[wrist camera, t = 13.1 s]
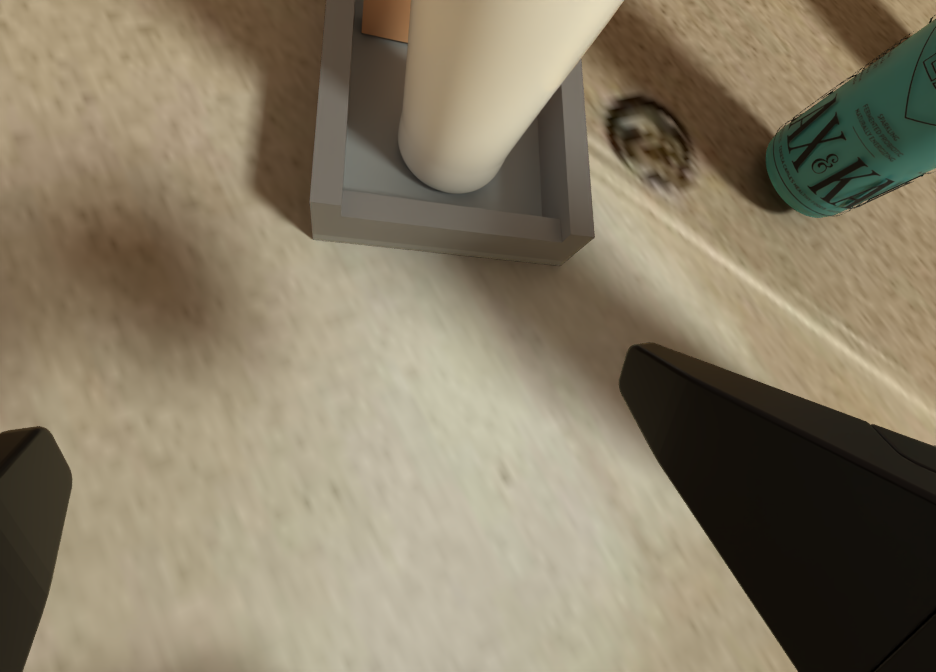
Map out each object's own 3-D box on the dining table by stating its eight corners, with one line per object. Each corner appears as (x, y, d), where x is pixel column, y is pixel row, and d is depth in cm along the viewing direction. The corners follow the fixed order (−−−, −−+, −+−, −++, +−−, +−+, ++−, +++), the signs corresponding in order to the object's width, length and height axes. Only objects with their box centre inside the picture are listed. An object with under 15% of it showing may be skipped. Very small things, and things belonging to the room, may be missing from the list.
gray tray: (560, 265, 25) (620, 215, 20) (312, 239, 22) (306, 172, 17) (545, -11, 30) (591, -111, 24) (336, -66, 26) (338, -196, 21)
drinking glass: (418, 70, 25) (527, -427, 11) (530, 137, 26) (764, -242, 12) (355, 167, 23) (393, -301, 9) (480, 236, 24) (697, -86, 10)
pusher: (530, 69, 27) (572, -13, 22) (361, 32, 24) (368, -68, 20) (529, 51, 27) (570, -33, 22) (362, 13, 25) (369, -91, 20)
